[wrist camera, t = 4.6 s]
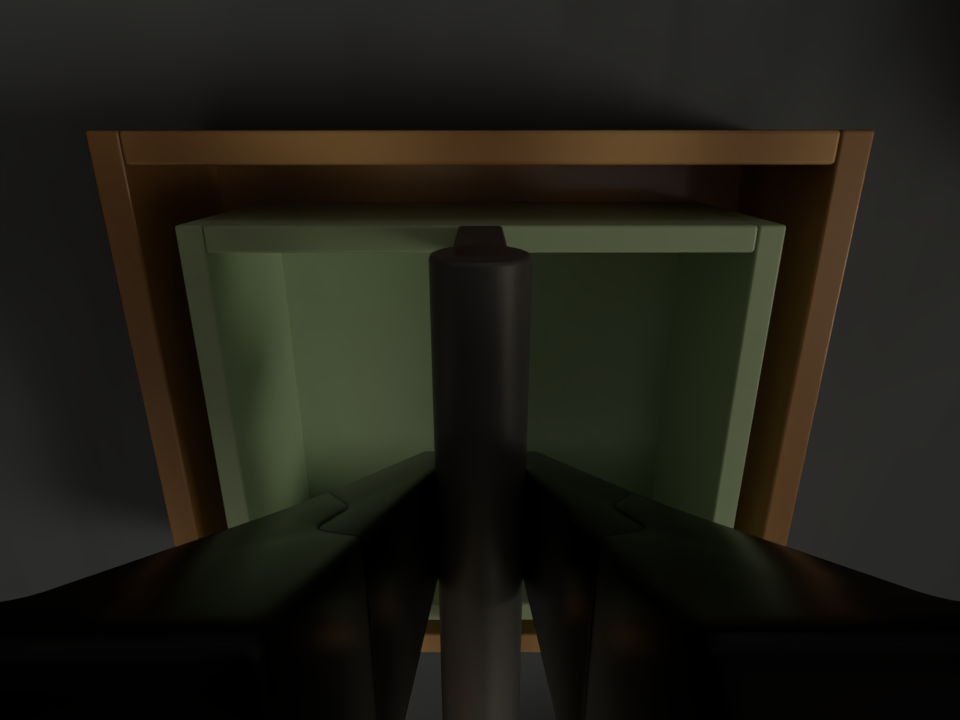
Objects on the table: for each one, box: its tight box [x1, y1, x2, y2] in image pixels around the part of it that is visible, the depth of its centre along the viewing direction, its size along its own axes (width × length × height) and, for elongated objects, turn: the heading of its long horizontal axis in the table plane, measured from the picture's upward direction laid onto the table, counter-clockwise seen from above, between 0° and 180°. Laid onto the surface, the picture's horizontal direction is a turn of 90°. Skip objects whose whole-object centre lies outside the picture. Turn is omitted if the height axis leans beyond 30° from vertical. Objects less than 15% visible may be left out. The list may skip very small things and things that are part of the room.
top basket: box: [175, 202, 786, 720], centre depth 13 cm, size 11×9×8 cm
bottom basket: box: [86, 130, 874, 652], centre depth 15 cm, size 14×12×4 cm
